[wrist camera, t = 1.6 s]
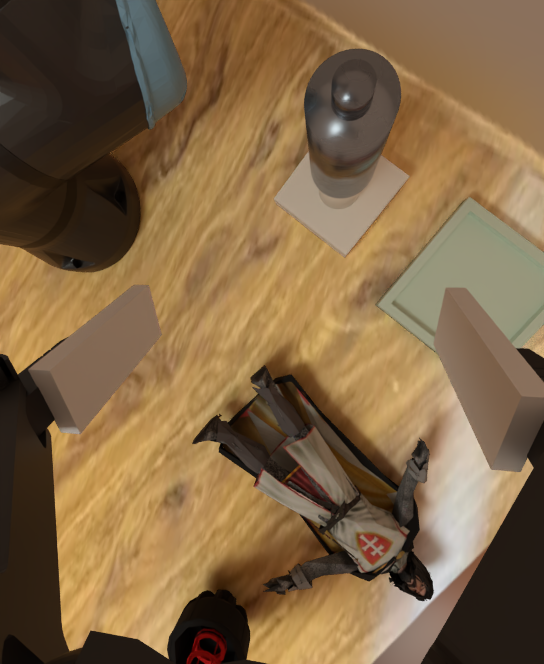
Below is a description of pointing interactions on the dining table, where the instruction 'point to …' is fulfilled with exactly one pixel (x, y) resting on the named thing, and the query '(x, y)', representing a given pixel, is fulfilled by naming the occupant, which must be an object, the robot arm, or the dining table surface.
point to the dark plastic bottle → (349, 119)
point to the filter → (210, 631)
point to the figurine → (326, 487)
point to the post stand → (339, 204)
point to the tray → (472, 277)
